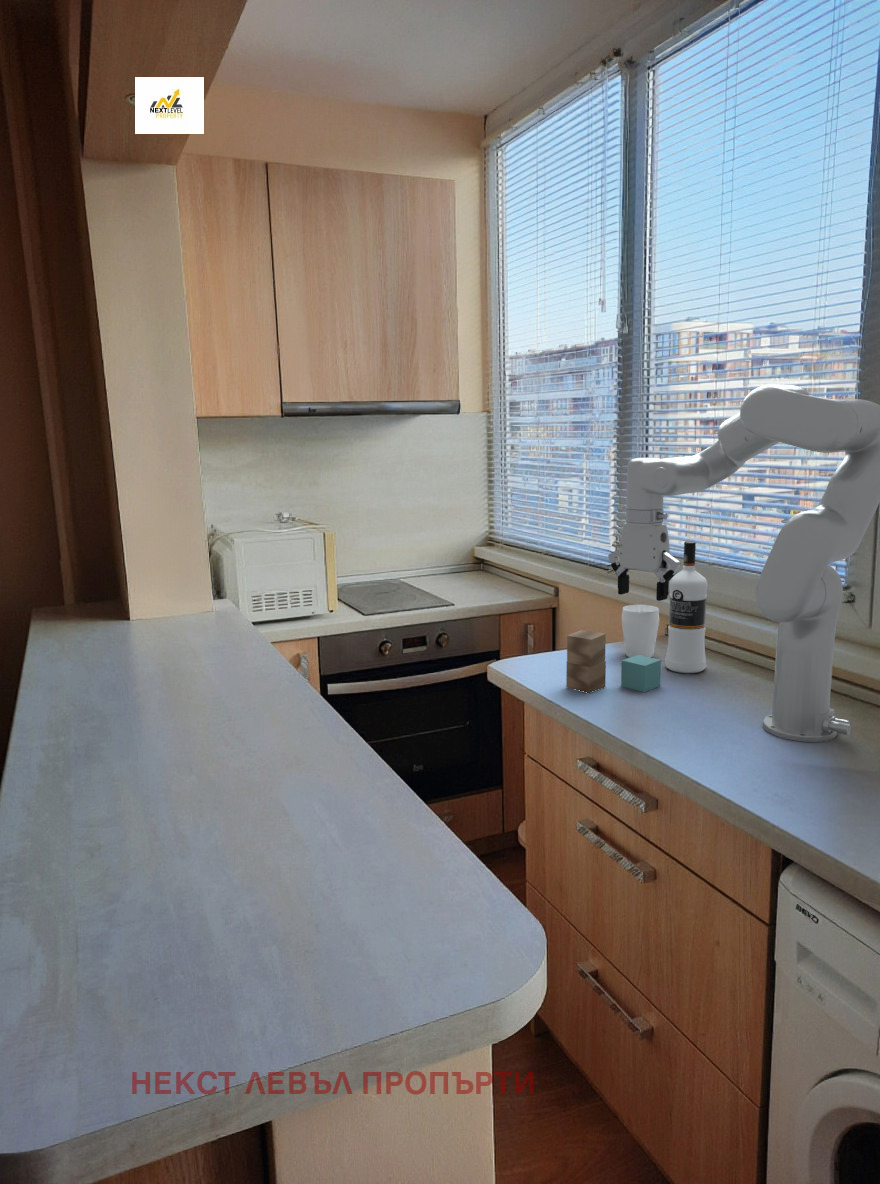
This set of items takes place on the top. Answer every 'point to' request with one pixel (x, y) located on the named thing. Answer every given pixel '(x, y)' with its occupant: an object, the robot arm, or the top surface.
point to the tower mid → (586, 648)
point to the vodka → (687, 617)
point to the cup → (640, 629)
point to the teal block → (640, 673)
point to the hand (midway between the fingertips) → (642, 596)
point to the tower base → (586, 677)
